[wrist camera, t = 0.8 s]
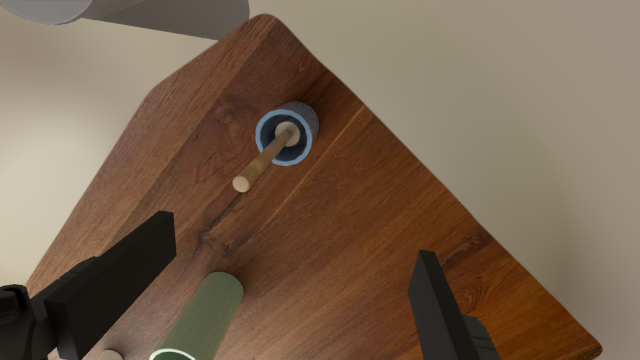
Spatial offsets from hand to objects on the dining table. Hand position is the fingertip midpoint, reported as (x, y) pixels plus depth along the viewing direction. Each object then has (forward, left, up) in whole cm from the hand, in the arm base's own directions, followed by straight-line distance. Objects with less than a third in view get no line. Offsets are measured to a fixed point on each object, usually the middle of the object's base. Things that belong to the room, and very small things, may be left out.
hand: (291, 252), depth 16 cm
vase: (+25, -29, -33) cm, 50 cm away
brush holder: (-2, -5, -33) cm, 33 cm away
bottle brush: (-2, -5, -32) cm, 32 cm away
